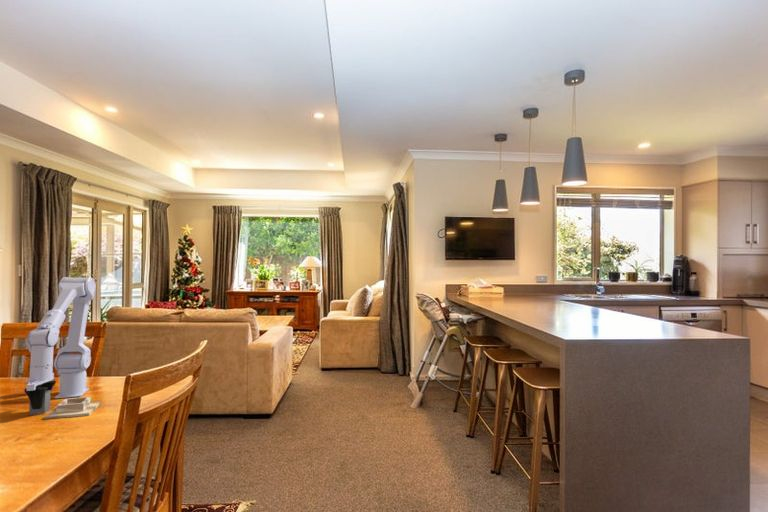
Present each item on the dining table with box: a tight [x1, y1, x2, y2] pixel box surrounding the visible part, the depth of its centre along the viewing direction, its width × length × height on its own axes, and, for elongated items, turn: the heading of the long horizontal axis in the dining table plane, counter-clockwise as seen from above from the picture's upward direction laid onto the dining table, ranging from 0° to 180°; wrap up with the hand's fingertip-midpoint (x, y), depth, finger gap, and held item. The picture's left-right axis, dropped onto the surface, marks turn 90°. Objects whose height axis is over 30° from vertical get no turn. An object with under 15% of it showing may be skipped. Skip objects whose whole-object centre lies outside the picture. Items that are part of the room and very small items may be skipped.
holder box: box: [43, 396, 102, 421], centre depth 133 cm, size 12×12×3 cm
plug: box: [28, 390, 52, 416], centre depth 132 cm, size 4×4×6 cm
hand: (39, 406), depth 132 cm, fingers closed on plug, 4 cm apart
